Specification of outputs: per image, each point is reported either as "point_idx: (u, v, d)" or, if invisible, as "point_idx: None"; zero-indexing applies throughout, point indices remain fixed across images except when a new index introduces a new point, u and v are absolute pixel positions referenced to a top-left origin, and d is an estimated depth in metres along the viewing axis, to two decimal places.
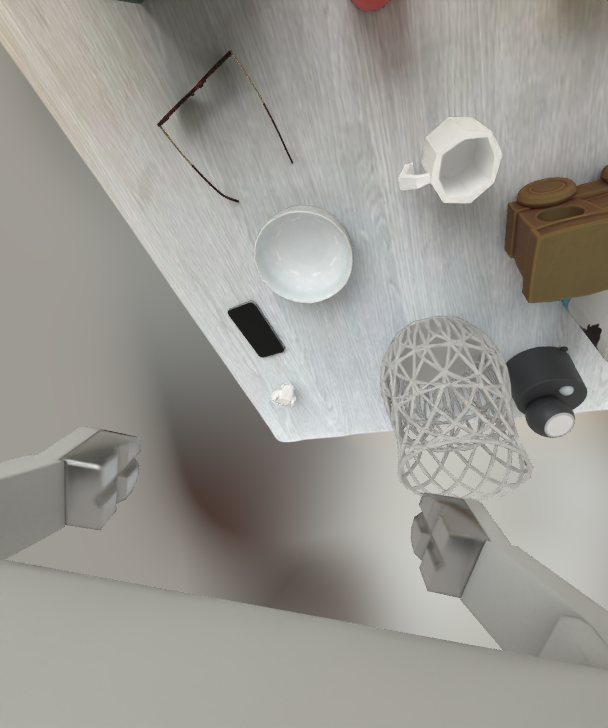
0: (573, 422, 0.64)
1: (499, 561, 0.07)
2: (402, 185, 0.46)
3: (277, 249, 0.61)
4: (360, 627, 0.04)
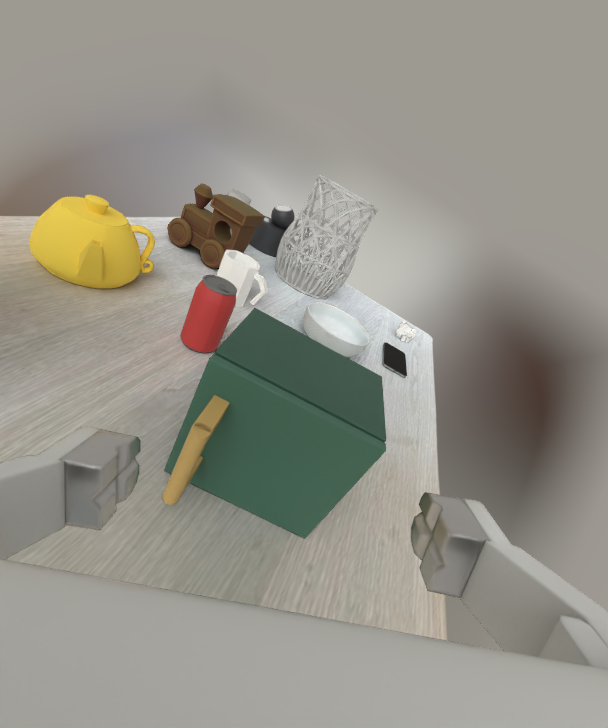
0: (277, 206, 1.15)
1: (499, 561, 0.07)
2: (266, 289, 0.74)
3: None
4: (360, 627, 0.04)
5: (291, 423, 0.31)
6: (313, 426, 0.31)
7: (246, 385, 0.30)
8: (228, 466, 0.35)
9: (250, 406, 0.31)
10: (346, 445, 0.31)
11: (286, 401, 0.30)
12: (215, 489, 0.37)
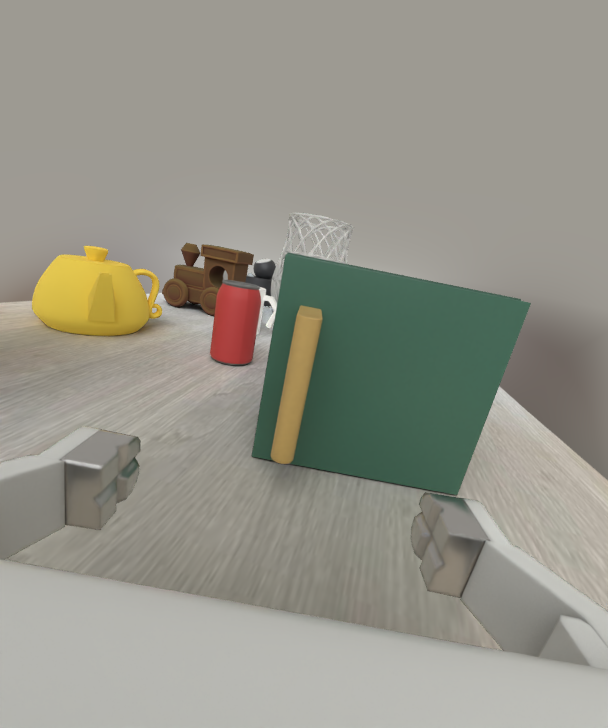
0: (256, 261, 1.19)
1: (499, 561, 0.07)
2: None
3: None
4: (360, 627, 0.04)
5: (403, 311, 0.24)
6: (432, 303, 0.24)
7: (337, 275, 0.24)
8: (335, 413, 0.27)
9: (347, 305, 0.24)
10: (479, 315, 0.24)
11: (391, 278, 0.24)
12: (324, 459, 0.28)
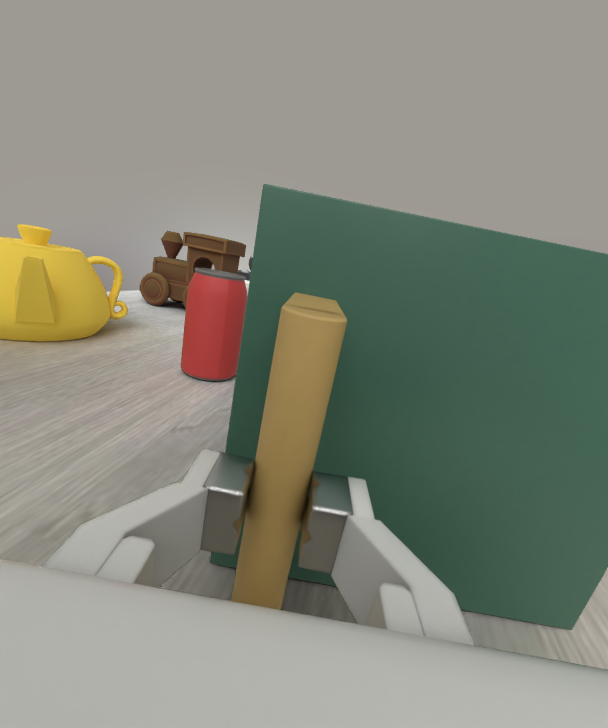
0: (252, 255, 1.07)
1: (356, 534, 0.07)
2: None
3: None
4: (360, 627, 0.04)
5: (502, 304, 0.12)
6: (563, 288, 0.12)
7: (371, 229, 0.12)
8: None
9: (389, 292, 0.12)
10: None
11: (483, 235, 0.11)
12: None
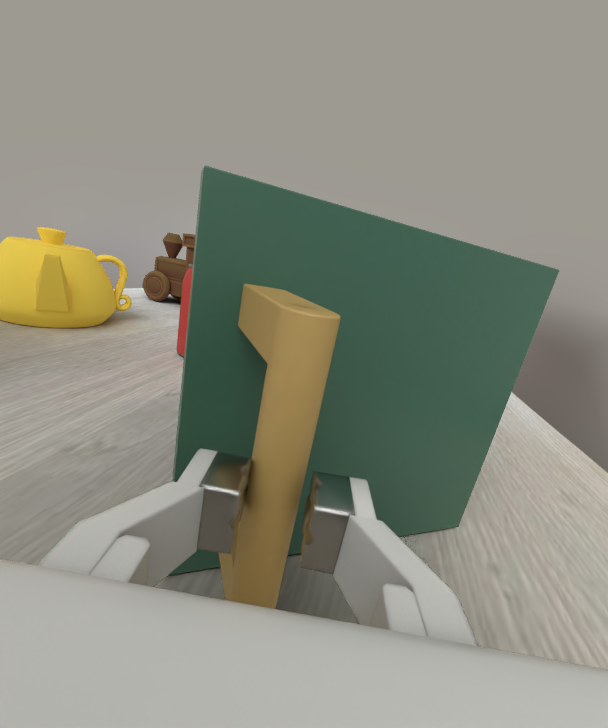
0: None
1: (358, 534, 0.07)
2: None
3: None
4: (360, 627, 0.04)
5: (416, 287, 0.15)
6: (454, 273, 0.15)
7: (314, 220, 0.12)
8: (311, 467, 0.16)
9: (330, 280, 0.13)
10: (506, 290, 0.17)
11: (402, 229, 0.13)
12: (294, 540, 0.17)
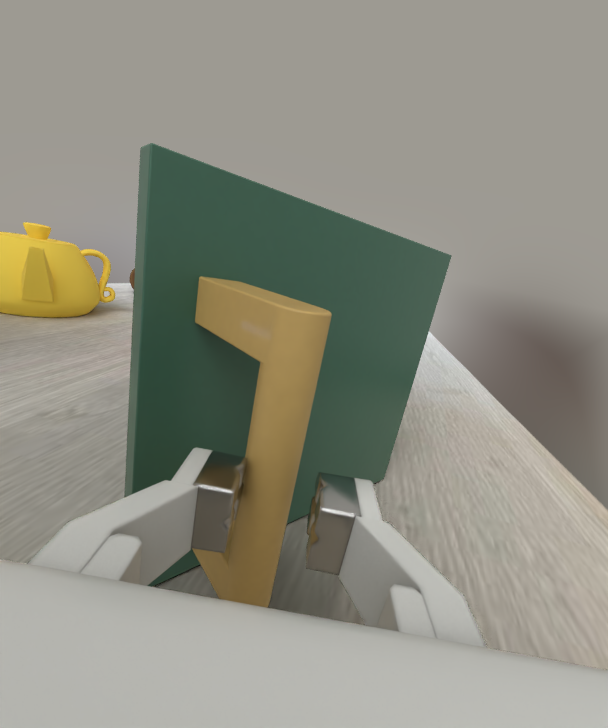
0: None
1: (364, 536, 0.07)
2: None
3: None
4: (360, 627, 0.04)
5: (352, 274, 0.16)
6: (381, 260, 0.17)
7: (266, 209, 0.12)
8: None
9: (282, 270, 0.13)
10: (417, 274, 0.19)
11: (341, 219, 0.14)
12: None
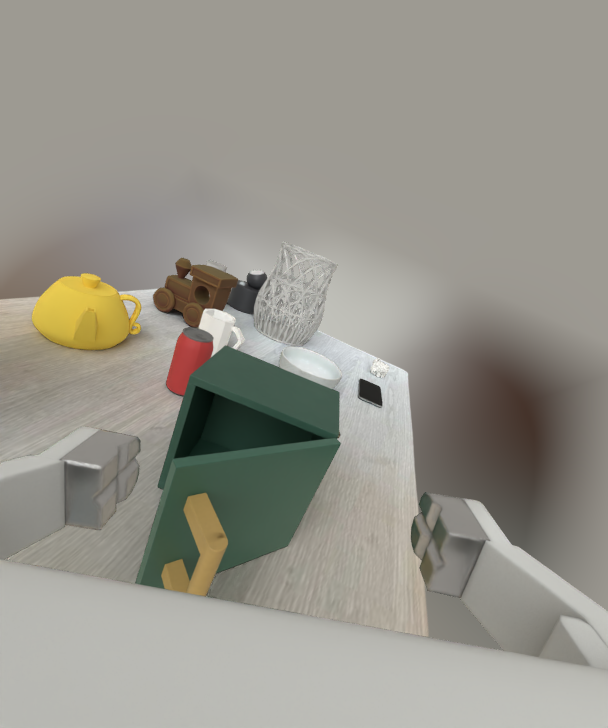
0: (251, 271, 1.30)
1: (499, 561, 0.07)
2: (242, 339, 0.83)
3: None
4: (360, 627, 0.04)
5: (268, 471, 0.31)
6: (287, 461, 0.32)
7: (222, 467, 0.27)
8: None
9: (227, 482, 0.29)
10: (313, 458, 0.35)
11: (262, 456, 0.30)
12: None
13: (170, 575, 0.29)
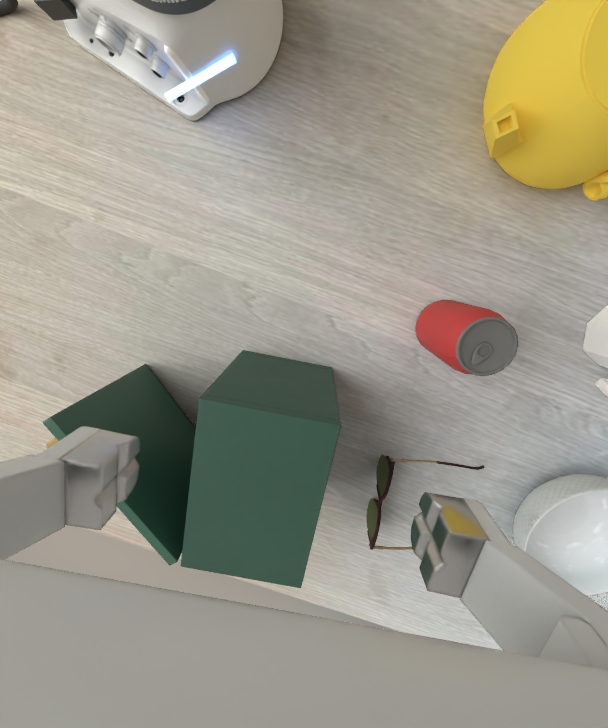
0: None
1: (499, 561, 0.07)
2: None
3: (536, 540, 0.48)
4: (360, 627, 0.04)
5: None
6: None
7: None
8: None
9: None
10: None
11: None
12: None
13: None
